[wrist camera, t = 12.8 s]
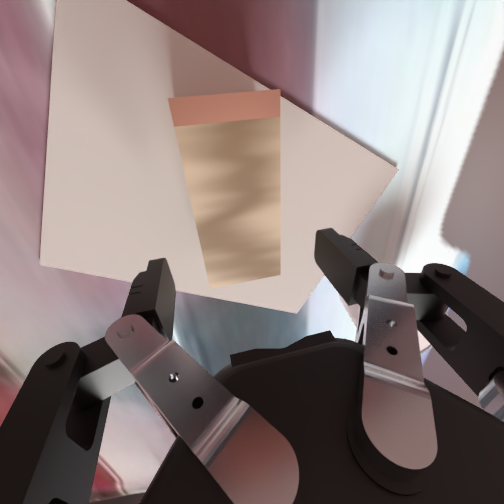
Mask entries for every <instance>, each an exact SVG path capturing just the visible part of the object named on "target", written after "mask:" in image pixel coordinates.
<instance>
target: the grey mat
mask: <svg viewBox="0 0 504 504" xmlns="http://www.w3.org/2000/svg"><path fill="white" fill-rule="evenodd" d="M263 90H270V89H268V88H267V87H265V86H264V85H262V84H260V83H259V82H257V81H256V80H254V79H252V78H251V77H249V76H247V75H246V74H244V73H243V72H241V71H239V70H238V69H236V68H235V67H233V66H231V65H230V64H228V63H226V62H225V61H223V60H222V59H220V58H218V57H217V56H215V55H214V54H212V53H210V52H209V51H207V50H206V49H204V48H202V47H201V46H199V45H197V44H196V43H194V42H193V41H191V40H189V39H188V38H186V37H185V36H183V35H181V34H180V33H178V32H176V31H175V30H173V29H172V28H170V27H168V26H167V25H165V24H164V23H162V22H160V21H159V20H157V19H156V18H154V17H152V16H151V15H149V14H147V13H146V12H144V11H143V10H141V9H139V8H138V7H136V6H135V5H133V4H131V3H130V2H128V1H126V0H56V10H55V26H54V42H53V58H52V74H51V90H50V106H49V122H48V138H47V154H46V170H45V186H44V202H43V218H42V234H41V250H40V265H44V266H49V267H54V268H60V269H65V270H70V271H75V272H81V273H86V274H91V275H96V276H102V277H107V278H112V279H118V280H123V281H128V282H133V280H134V278H135V277H136V276H137V275H138V274H139V273H140V272H143V271H146V270H147V266H148V262H149V260H153V259H159V258H166V260H167V262H168V265H169V268H170V271H171V274H172V277H173V280H174V283H175V289H176V291H181V292H186V293H191V294H197V295H202V296H207V297H212V298H218V299H223V300H228V301H233V302H239V303H244V304H249V305H255V306H260V307H265V308H270V309H276V310H281V311H286V312H291V313H298V311H299V310H300V308H301V307H302V306H303V304H304V303H305V301H306V300H307V299H308V297H309V296H310V294H311V293H312V291H313V290H314V289H315V287H316V286H317V284H318V283H319V282H320V280H321V279H322V277H323V276H324V273H323V272H322V271H321V269H320V268H319V267H318V265H317V264H316V262H315V258H314V249H315V237H316V231H317V230H321V229H326V228H333V229H334V230H335V231H336V232H337V233H338V234H339V235H344V236H346V237H348V238H351V236H352V235H353V234H354V232H355V231H356V229H357V228H358V226H359V225H360V224H361V222H362V221H363V219H364V218H365V217H366V215H367V214H368V212H369V211H370V210H371V208H372V207H373V205H374V204H375V202H376V201H377V200H378V198H379V197H380V195H381V194H382V193H383V191H384V190H385V188H386V187H387V186H388V184H389V183H390V181H391V180H392V178H393V177H394V176H395V174H396V173H397V171H398V170H399V169H397V168H396V167H394V166H393V165H391V164H389V163H388V162H386V161H385V160H383V159H381V158H380V157H378V156H376V155H375V154H373V153H372V152H370V151H368V150H367V149H365V148H364V147H362V146H360V145H359V144H357V143H356V142H354V141H352V140H351V139H349V138H347V137H346V136H344V135H343V134H341V133H339V132H338V131H336V130H335V129H333V128H331V127H330V126H328V125H326V124H325V123H323V122H322V121H320V120H318V119H317V118H315V117H314V116H312V115H310V114H309V113H307V112H306V111H304V110H302V109H301V108H299V107H297V106H296V105H294V104H293V103H291V102H289V101H288V100H286V99H285V98H283V97H281V96H280V196H281V275H277V276H272V277H267V278H262V279H257V280H252V281H247V282H242V283H237V284H232V285H227V286H221V287H216V288H211V289H210V286H209V281H208V277H207V272H206V268H205V263H204V259H203V254H202V250H201V245H200V241H199V236H198V232H197V227H196V223H195V219H194V214H193V210H192V205H191V201H190V196H189V192H188V187H187V183H186V178H185V174H184V169H183V165H182V160H181V156H180V151H179V147H178V142H177V138H176V133H175V129H174V124H173V120H172V115H171V111H170V106H169V102H168V98H175V97H187V96H200V95H212V94H225V93H238V92H250V91H263Z"/></svg>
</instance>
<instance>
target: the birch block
mask: <svg viewBox="0 0 504 504" xmlns="http://www.w3.org/2000/svg"><path fill="white" fill-rule="evenodd" d="M168 102H169V106H170V111H171V115H172V120H173V124H174V129H175V133H176V138H177V142H178V147H179V151H180V156H181V160H182V165H183V169H184V174H185V178H186V183H187V187H188V192H189V196H190V201H191V205H192V210H193V214H194V219H195V223H196V227H197V232H198V236H199V241H200V245H201V250H202V254H203V259H204V263H205V268H206V272H207V277H208V281H209V286H210V289H211V288H216V287H221V286H227V285H232V284H237V283H242V282H247V281H252V280H257V279H262V278H267V277H272V276H277V275H281V196H280V89H275V90H263V91H250V92H238V93H225V94H212V95H200V96H187V97H175V98H168Z"/></svg>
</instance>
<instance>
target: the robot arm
mask: <svg viewBox="0 0 504 504" xmlns="http://www.w3.org/2000/svg"><path fill="white" fill-rule="evenodd" d="M314 258H315V262H316V264H317V265H318V267H319V268H320V269H321V271H322V272H323V273H324V275H325V276H326V277H327V278H328V280H329V281H330V282H331V284H332V285H333V286H334V288H335V289H336V290H337V291H338V293H339V294H340V295H341V297H342V298H343V299H344V301H345V302H346V303H347V304H348V306H350V305H355V304H358V305H359V306H360V308H359V313H358V322H357V330H356V339H355V342H354V341H351V340H347V339H341V338H334V336H333V335H332V333H331V331H326V332H322V333H318V334H314V335H309V336H306V337H304V338H302V339H301V340H299V341H297V342H295V343H293V344H291V345H289V346H288V347H286V348H281V349H253V350H249V351H244V352H240V353H236V354H232V355H230V358H231V364H229V365H227V366H226V367H224V368H223V369H221V370H220V371H219V372H218V373H217V374H216V375H215V376H214V377H213V376H212V375H211V374H210V373H209V372H208V371H207V370H205V369H204V368H203V367H202V366H201V365H200V364H199V363H198V362H197V361H196V360H195V359H194V358H192V357H191V356H190V355H189V354H188V353H187V352H186V351H185V350H184V349H183V348H182V347H180V346H179V345H178V344H177V343H176V342H175V341H174V340H172V336H173V322H174V309H175V296H176V289H175V283H174V280H173V277H172V274H171V271H170V268H169V265H168V262H167V260H166V258H159V259H153V260H149V262H148V266H147V270H146V271H143V272H140V273H139V274H138V275H137V276H136V277H135V278H134V280H133V282H132V285H131V289H130V292H129V295H128V298H127V301H126V304H125V308H124V311H123V314H122V317H121V318H120V319H118V320H117V321H115V322H114V323H113V324H112V325H111V326H110V327H109V328H108V329H107V331H106V333H105V337H103V338H101V339H99V340H97V341H95V342H92V343H90V344H88V345H86V346H84V347H82V348H80V347H79V345H78V344H77V343H75V342H65V343H61V344H58V345H56V346H54V347H52V348H51V349H49V350H47V351H46V352H45V353H44V354H42V355H41V356H40V357H39V358H38V359H37V361H36V362H35V363H34V365H33V366H32V368H31V370H30V372H29V374H28V376H27V378H26V380H25V382H24V383H23V385H22V387H21V389H20V391H19V393H18V395H17V397H16V399H15V400H14V402H13V404H12V406H11V408H10V410H9V412H8V414H7V416H6V417H5V419H4V421H3V423H2V425H1V427H0V504H89V499H90V495H91V490H92V485H93V480H94V476H95V471H96V466H97V461H98V456H99V452H100V447H101V442H102V437H103V432H104V428H105V423H106V418H107V413H108V408H109V404H110V399H111V395H113V394H115V393H117V392H119V391H120V390H122V389H124V388H126V387H128V386H129V385H131V384H133V383H135V385H136V386H137V387H138V389H139V390H140V391H141V393H142V394H143V395H144V396H145V398H146V399H147V400H148V402H149V403H150V404H151V406H152V407H153V408H154V410H155V411H156V412H157V414H158V415H159V416H160V418H161V419H162V421H163V422H164V423H165V425H166V426H167V428H168V429H169V430H170V432H171V433H172V434H173V436H174V437H175V438H176V439H175V441H174V443H173V445H172V447H171V448H170V450H169V452H168V454H167V455H166V457H165V459H164V461H163V462H162V464H161V466H160V468H159V469H158V471H157V473H156V475H155V477H154V478H153V480H152V482H151V484H150V485H149V487H148V489H147V491H146V492H145V494H144V496H143V498H142V500H141V501H140V503H139V504H504V302H503V301H501V300H499V299H498V298H497V297H495V296H494V295H492V294H491V293H490V292H488V291H487V290H485V289H484V288H482V287H480V286H479V285H478V284H476V283H475V282H474V281H472V280H471V279H469V278H468V277H466V276H465V275H463V274H462V273H460V272H459V271H458V270H456V269H454V268H452V267H450V266H447V265H443V264H437V263H432V264H427V265H425V266H424V267H423V270H422V272H421V273H404V272H403V270H401V269H400V268H399V267H397V266H395V265H392V264H389V263H378V262H377V261H376V260H375V259H374V258H373V257H371V256H370V255H369V254H368V253H367V252H366V251H364V250H363V249H362V248H361V247H360V246H359V245H357V244H356V243H355V242H354V241H353V240H352V239H350V238H348V237H346V236H344V235H339V234H338V233H337V232H336V231H335V230H334V229H333V228H326V229H321V230H317V231H316V237H315V249H314ZM448 307H450V308H451V309H452V310H453V311H454V312H456V313H457V314H458V315H459V316H460V317H461V318H462V319H463V320H464V321H465V323H466V325H467V331H466V332H465V331H464V330H463V329H462V328H461V327H459V326H458V325H457V324H456V323H455V322H454V321H453V320H452V319H451V318H450V317H448V316H447V315H446V314H445V313H446V311H447V309H448ZM417 330H418V331H419V332H420V333H421V334H422V335H423V336H424V337H425V339H426V340H427V341H428V342H429V343H430V344H431V345H432V346H433V347H434V348H435V350H436V351H437V352H438V353H439V354H440V355H441V356H442V357H443V358H444V359H445V361H446V362H447V363H448V364H449V365H450V366H451V367H452V368H453V369H454V370H455V372H456V373H457V374H458V375H459V376H460V377H461V378H462V379H463V380H464V382H465V383H466V384H467V385H468V386H469V387H470V388H471V389H472V390H473V391H474V393H475V394H476V395H477V396H478V397H479V402H480V404H481V406H482V408H483V409H481V408H479V407H477V406H475V405H473V404H472V403H469V402H468V401H466V400H464V399H462V398H460V397H459V396H457V395H455V394H453V393H451V392H449V391H447V390H445V389H443V388H442V387H440V386H438V385H436V384H434V383H432V382H431V381H429V380H427V379H425V378H423V371H422V363H421V355H420V347H419V339H418V331H417Z"/></svg>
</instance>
